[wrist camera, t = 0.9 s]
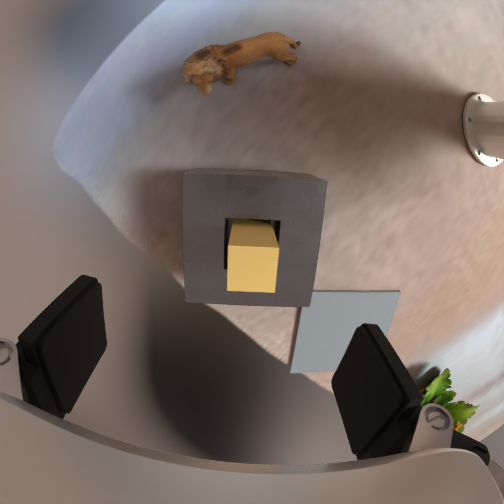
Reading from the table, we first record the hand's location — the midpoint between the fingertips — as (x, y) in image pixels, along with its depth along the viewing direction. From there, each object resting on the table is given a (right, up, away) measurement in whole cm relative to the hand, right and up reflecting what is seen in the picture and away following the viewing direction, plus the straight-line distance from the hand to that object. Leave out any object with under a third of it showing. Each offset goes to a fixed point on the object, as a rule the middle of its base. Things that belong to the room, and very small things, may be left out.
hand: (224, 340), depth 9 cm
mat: (+16, -10, +33) cm, 38 cm away
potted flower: (+42, -33, +42) cm, 68 cm away
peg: (+1, +6, +25) cm, 25 cm away
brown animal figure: (0, +26, +20) cm, 32 cm away
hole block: (+1, +7, +27) cm, 27 cm away
